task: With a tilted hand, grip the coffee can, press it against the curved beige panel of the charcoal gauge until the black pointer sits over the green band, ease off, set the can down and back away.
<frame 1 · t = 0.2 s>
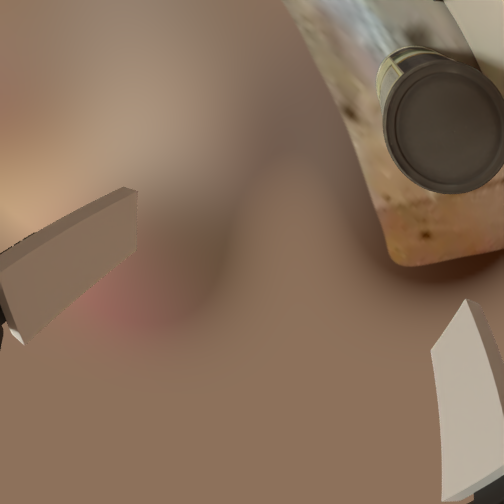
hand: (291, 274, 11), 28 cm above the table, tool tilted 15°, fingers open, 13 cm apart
coffee can: (419, 88, 26), on the table
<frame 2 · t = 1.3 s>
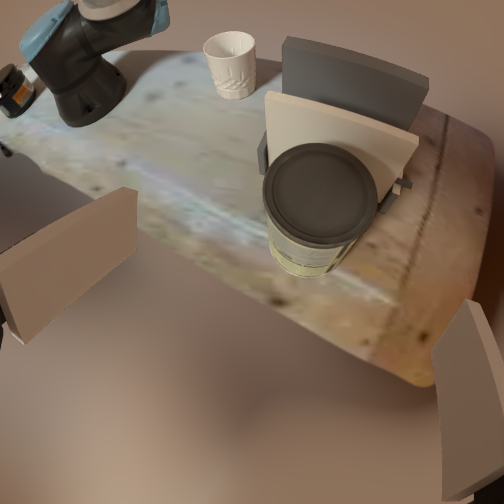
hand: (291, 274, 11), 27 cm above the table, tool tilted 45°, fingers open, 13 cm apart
coffee can: (307, 240, 40), on the table
white cup: (236, 87, 48), on the table
curved beige panel: (343, 155, 34), point 8 cm above the table, slide at 0.0 cm
supplement container: (23, 104, 55), on the table
gauge housing: (332, 159, 42), on the table
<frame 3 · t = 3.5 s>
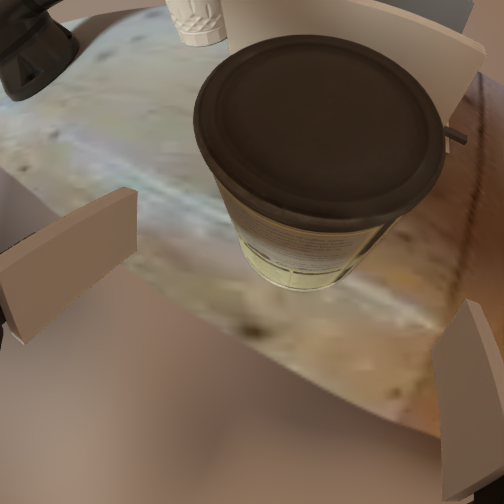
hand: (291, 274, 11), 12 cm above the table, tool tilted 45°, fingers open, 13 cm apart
coffee can: (302, 228, 24), on the table
white cup: (206, 35, 33), on the table
curved beige panel: (358, 85, 18), point 8 cm above the table, slide at 0.0 cm
gauge housing: (337, 111, 27), on the table
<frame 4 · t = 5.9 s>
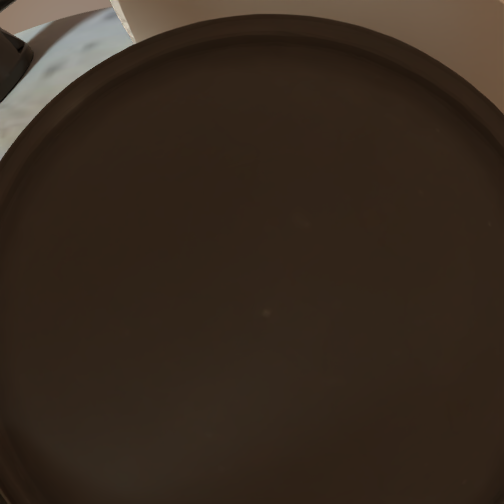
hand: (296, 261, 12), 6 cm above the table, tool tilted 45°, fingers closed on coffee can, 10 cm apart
coffee can: (272, 338, 16), on the table, touching gripper
curved beige panel: (371, 119, 10), point 8 cm above the table, slide at 0.0 cm
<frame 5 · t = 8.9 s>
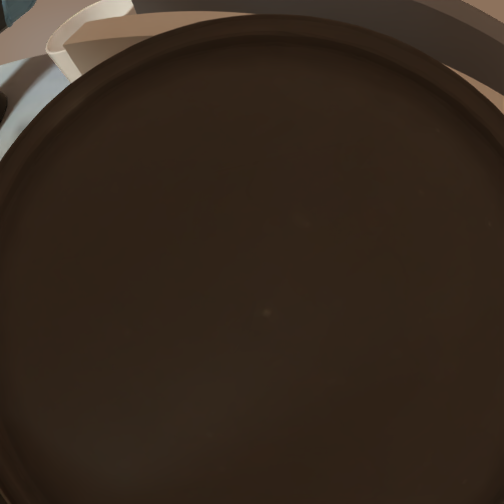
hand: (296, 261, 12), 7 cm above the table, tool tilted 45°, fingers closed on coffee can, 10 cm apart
coffee can: (272, 338, 16), point 2 cm above the table, touching gripper
white cup: (132, 99, 25), on the table
curved beige panel: (347, 202, 11), point 8 cm above the table, slide at 5.1 cm
gauge housing: (300, 260, 19), on the table
when the fingers open (6 cm above the table, at t = 10.9 s): coffee can stays where it is, on the table.
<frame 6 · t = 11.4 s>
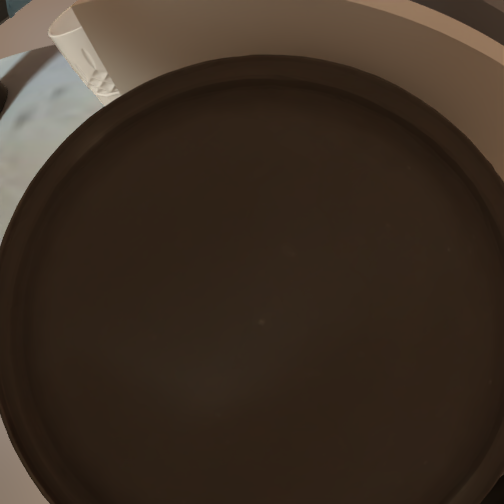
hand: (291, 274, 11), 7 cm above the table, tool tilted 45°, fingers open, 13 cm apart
coffee can: (271, 339, 17), on the table
white cup: (133, 86, 24), on the table
curved beige panel: (357, 170, 11), point 8 cm above the table, slide at 5.1 cm
gauge housing: (305, 242, 19), on the table
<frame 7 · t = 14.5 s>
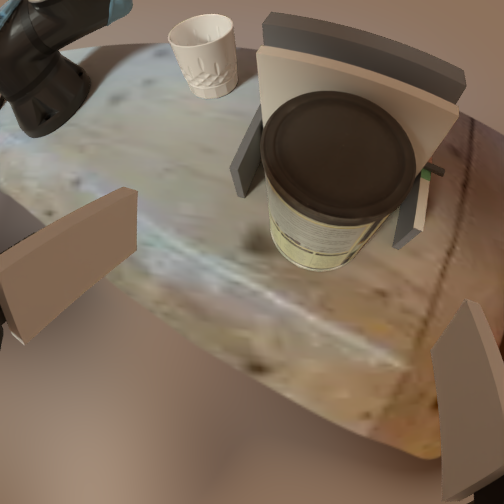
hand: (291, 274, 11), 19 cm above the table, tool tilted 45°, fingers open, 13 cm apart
coffee can: (317, 224, 32), on the table
white cup: (214, 84, 38), on the table
curved beige panel: (359, 131, 25), point 8 cm above the table, slide at 5.1 cm
gauge housing: (333, 176, 33), on the table
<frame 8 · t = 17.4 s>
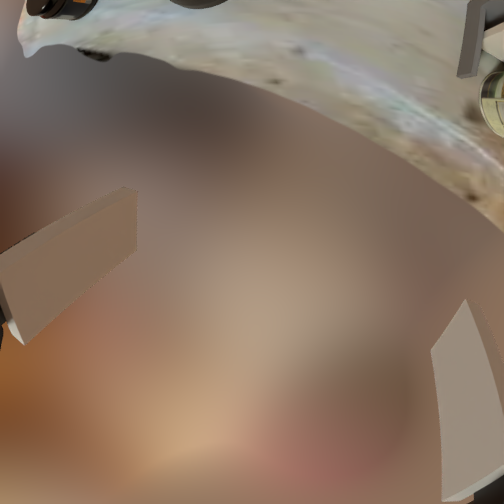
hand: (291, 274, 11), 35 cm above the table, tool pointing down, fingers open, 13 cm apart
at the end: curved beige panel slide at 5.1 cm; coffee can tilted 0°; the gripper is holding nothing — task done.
